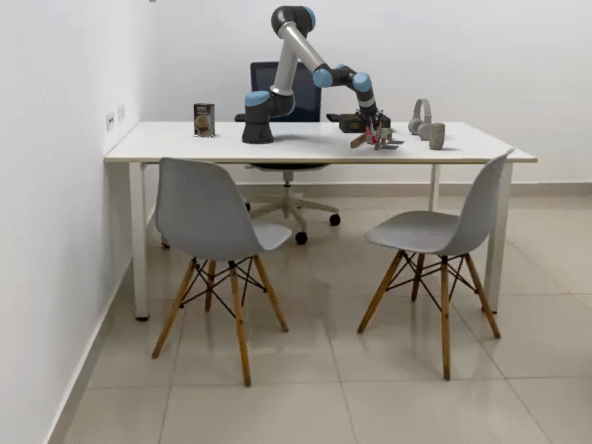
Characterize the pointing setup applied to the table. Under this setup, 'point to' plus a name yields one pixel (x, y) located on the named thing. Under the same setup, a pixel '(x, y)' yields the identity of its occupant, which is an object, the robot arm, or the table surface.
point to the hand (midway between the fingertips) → (374, 133)
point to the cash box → (359, 123)
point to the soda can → (373, 139)
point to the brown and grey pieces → (385, 135)
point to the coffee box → (204, 119)
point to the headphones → (417, 124)
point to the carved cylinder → (437, 136)
